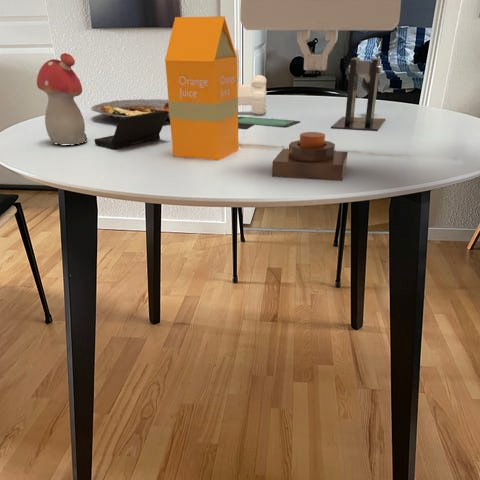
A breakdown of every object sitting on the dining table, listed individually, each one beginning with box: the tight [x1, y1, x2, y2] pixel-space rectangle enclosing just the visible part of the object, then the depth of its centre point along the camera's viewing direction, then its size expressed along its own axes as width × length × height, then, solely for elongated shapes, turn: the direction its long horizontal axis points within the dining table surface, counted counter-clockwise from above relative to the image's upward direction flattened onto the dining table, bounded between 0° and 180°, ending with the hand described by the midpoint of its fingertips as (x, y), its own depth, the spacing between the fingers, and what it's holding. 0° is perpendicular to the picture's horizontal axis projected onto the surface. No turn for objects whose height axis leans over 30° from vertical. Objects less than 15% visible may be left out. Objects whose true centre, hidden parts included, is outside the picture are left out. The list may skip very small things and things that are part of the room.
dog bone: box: [238, 74, 268, 115], centre depth 117 cm, size 15×9×8 cm, turn 85°
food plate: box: [90, 98, 170, 120], centre depth 116 cm, size 25×23×4 cm
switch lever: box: [357, 59, 380, 93], centre depth 101 cm, size 14×4×4 cm, turn 159°
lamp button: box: [299, 131, 326, 148], centre depth 72 cm, size 4×4×2 cm
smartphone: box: [238, 116, 301, 130], centre depth 105 cm, size 7×1×15 cm
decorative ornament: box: [36, 52, 88, 145], centre depth 90 cm, size 9×7×15 cm
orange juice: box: [164, 15, 239, 161], centre depth 80 cm, size 8×9×20 cm
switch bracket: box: [330, 57, 386, 132], centre depth 98 cm, size 12×9×13 cm
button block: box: [271, 139, 349, 182], centre depth 73 cm, size 10×8×4 cm
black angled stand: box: [94, 110, 168, 149], centre depth 91 cm, size 12×7×10 cm
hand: (315, 69), depth 67 cm, fingers closed
